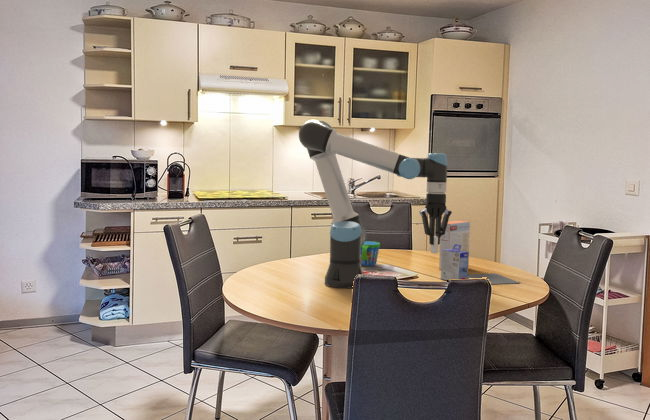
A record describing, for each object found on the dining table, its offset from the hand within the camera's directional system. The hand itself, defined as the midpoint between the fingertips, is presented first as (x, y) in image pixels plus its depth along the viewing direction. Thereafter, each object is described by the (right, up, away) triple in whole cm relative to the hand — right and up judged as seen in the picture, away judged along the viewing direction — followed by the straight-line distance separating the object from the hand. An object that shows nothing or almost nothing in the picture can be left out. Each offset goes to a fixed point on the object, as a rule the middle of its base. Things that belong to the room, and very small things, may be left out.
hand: (434, 252), depth 233 cm
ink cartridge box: (+9, -12, +4) cm, 15 cm away
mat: (+22, -11, +7) cm, 26 cm away
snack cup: (-24, -8, +32) cm, 41 cm away
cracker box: (+14, -9, +28) cm, 32 cm away
